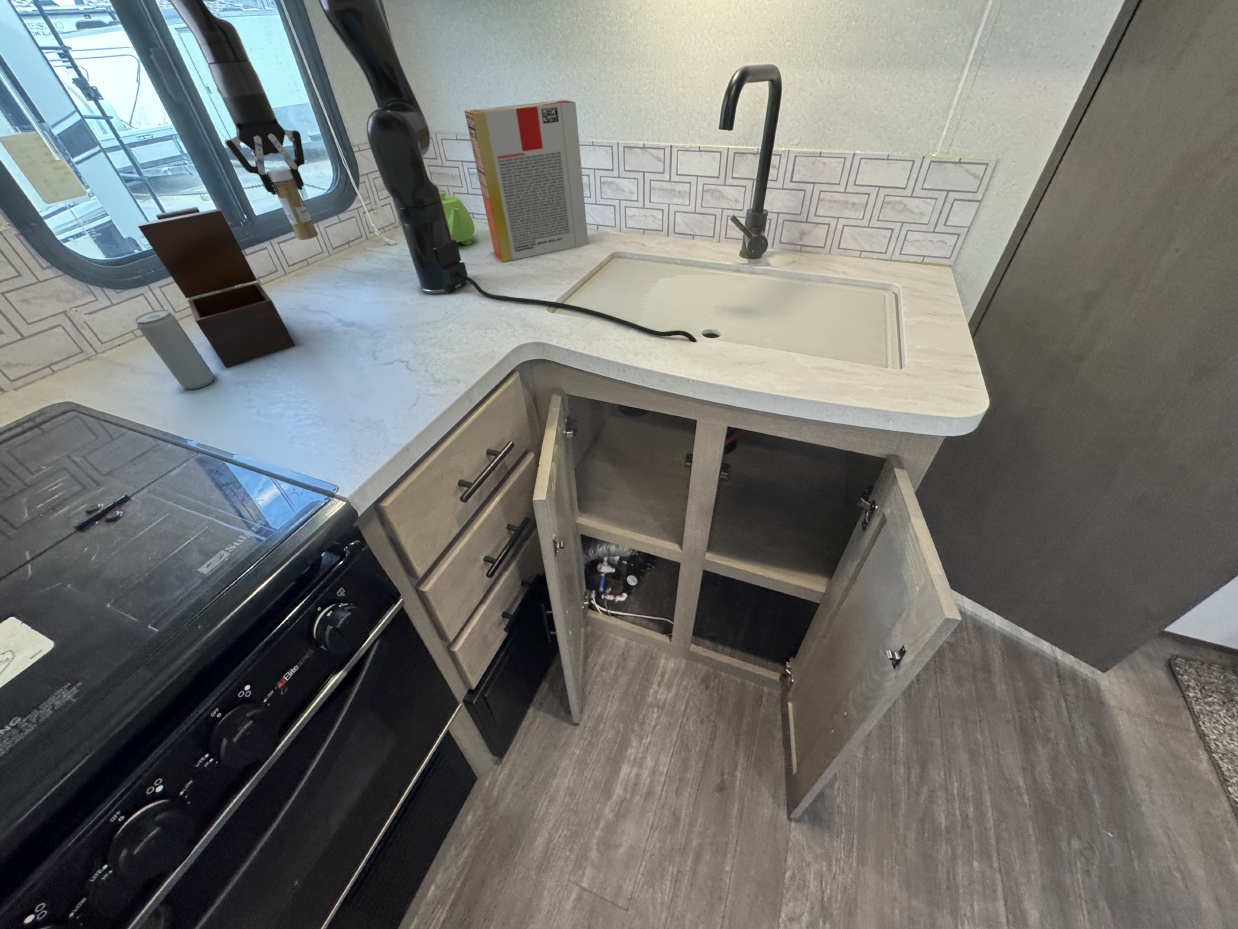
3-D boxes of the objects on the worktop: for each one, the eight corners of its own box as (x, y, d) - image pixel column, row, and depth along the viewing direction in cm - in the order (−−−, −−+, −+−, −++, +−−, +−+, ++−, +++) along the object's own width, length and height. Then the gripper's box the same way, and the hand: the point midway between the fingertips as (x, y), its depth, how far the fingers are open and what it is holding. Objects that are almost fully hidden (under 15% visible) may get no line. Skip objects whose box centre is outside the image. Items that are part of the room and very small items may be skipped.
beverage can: (193, 376, 86) (146, 310, 78) (221, 374, 86) (177, 307, 78) (177, 391, 82) (125, 323, 74) (206, 389, 82) (158, 321, 74)
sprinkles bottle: (320, 237, 112) (290, 168, 103) (298, 241, 110) (266, 172, 101) (317, 232, 115) (287, 166, 106) (296, 237, 113) (264, 169, 104)
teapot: (489, 246, 132) (477, 194, 123) (439, 258, 127) (424, 204, 118) (463, 230, 145) (451, 181, 137) (418, 240, 140) (403, 190, 131)
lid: (221, 210, 83) (211, 195, 86) (137, 226, 78) (129, 209, 80) (257, 280, 94) (247, 265, 96) (186, 298, 89) (177, 282, 91)
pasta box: (576, 236, 134) (562, 99, 115) (588, 244, 129) (575, 101, 109) (494, 252, 127) (464, 110, 108) (502, 261, 122) (472, 113, 102)
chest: (295, 345, 93) (271, 299, 87) (225, 367, 88) (195, 320, 82) (280, 324, 100) (257, 281, 95) (215, 344, 95) (187, 299, 89)
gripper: (202, 97, 89) (254, 201, 101) (286, 88, 96) (326, 187, 107) (197, 96, 94) (247, 196, 105) (278, 88, 100) (317, 182, 112)
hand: (287, 191), depth 106 cm, fingers closed on sprinkles bottle, 4 cm apart
